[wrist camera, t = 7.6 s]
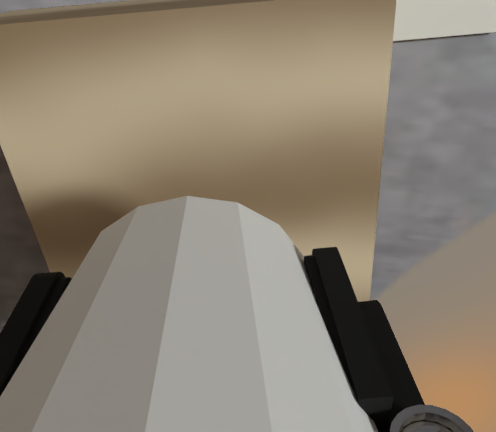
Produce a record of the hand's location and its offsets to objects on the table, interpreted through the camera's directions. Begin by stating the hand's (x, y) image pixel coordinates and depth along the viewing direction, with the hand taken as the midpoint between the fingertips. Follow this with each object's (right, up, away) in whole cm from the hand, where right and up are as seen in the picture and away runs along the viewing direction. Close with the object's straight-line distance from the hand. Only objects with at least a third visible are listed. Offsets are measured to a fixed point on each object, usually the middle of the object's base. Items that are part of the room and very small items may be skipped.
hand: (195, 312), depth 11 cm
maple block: (0, +5, +8) cm, 9 cm away
